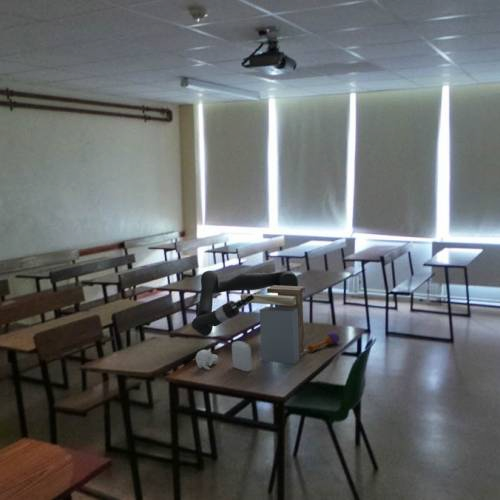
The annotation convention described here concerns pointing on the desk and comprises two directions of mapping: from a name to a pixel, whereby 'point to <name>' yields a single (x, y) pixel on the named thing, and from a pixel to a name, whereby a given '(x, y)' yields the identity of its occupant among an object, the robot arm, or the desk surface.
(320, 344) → the kendama
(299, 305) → the tan tall block
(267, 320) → the grey block
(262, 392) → the desk surface
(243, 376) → the desk surface
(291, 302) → the wooden batten
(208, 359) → the white rabbit figurine
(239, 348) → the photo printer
